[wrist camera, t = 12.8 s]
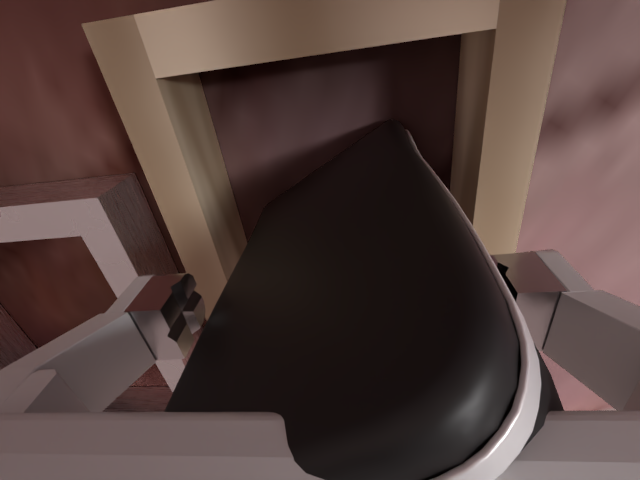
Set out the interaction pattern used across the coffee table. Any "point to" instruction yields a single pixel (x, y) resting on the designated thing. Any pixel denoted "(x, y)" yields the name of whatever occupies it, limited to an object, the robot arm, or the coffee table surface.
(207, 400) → the battery charger
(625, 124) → the coffee table surface
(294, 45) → the tan wooden frame
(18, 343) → the frame
